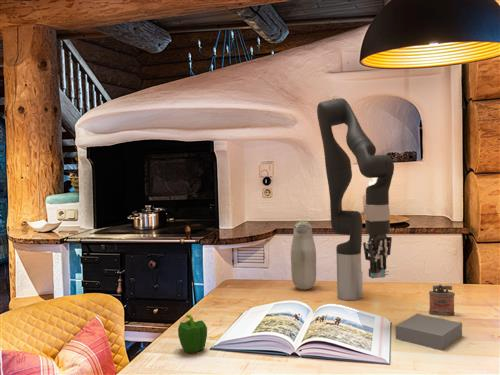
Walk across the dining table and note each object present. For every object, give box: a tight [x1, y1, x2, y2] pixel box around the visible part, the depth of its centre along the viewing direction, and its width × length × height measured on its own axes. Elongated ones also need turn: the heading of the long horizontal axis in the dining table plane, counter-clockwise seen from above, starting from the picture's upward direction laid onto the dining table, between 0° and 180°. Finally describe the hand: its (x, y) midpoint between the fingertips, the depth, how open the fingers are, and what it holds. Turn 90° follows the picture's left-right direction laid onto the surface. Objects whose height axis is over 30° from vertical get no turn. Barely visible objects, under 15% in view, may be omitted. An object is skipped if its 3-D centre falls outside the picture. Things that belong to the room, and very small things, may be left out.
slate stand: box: [395, 313, 463, 351], centre depth 150 cm, size 14×14×4 cm
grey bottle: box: [290, 220, 317, 291], centre depth 206 cm, size 10×10×28 cm
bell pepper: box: [177, 313, 208, 354], centre depth 146 cm, size 8×8×10 cm
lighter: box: [428, 283, 456, 317], centre depth 170 cm, size 8×3×10 cm, turn 70°
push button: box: [368, 247, 390, 279], centre depth 161 cm, size 7×5×10 cm
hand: (378, 271), depth 161 cm, fingers closed on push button, 5 cm apart
